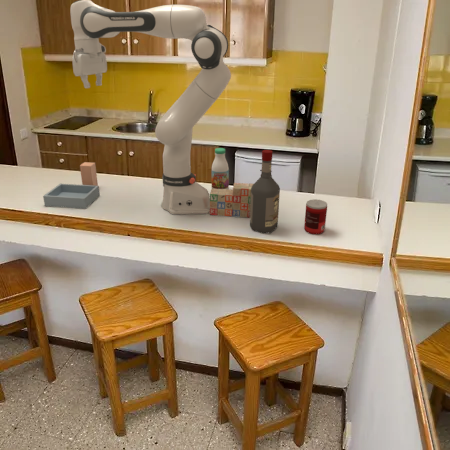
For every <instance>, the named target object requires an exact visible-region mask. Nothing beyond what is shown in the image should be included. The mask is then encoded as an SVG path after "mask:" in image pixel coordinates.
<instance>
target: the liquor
mask: <svg viewBox="0 0 450 450" xmlns="http://www.w3.org/2000/svg"><path fill="white" fill-rule="evenodd" d="M272 161H273V150H271V149H264V150H261V171H260V173H261V174H260V177H259V178H258V179H257V180H256V181H255V182H254V183H252V184H253V185H252V188H251V206H250V218H249V227H250V228H251V230H252V231H253V230H254V231H253V232H257V231H258V232H257V233H261V232H262V233H261V234H264V233H265V234H271V233H272V232H273V231H275V230H276V229H277V227H278V225H279V210H280V197H281V196H280V195H281V194H280V191H281V188H280V185H279V184H278V182H276V180H275V179H274V178H273V175H272V165H273V163H272ZM274 229H275V230H274Z"/></svg>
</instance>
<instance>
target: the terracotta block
mask: <svg viewBox="0 0 450 450" xmlns="http://www.w3.org/2000/svg"><path fill="white" fill-rule="evenodd" d="M79 169H80V175H81V185H93V186H99V184H98V183H99V182H98V176H97V167H96V162H88V161H87V162H86V161H84V162H82V163H81V164H80V165H79Z"/></svg>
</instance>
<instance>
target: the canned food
mask: <svg viewBox="0 0 450 450" xmlns="http://www.w3.org/2000/svg"><path fill="white" fill-rule="evenodd" d="M327 211H328V203H327V202H326V201H325V200H321V199H317V198H316V199H314V198H312V199H309V200H307V201H306V205H305V214H304V225H303V226H304V227H303V228H304V231H305V232H306V233H308V234H310V235H321V234H323V233H324V231H326V229H325V228H326V221H327V213H328V212H327Z"/></svg>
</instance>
